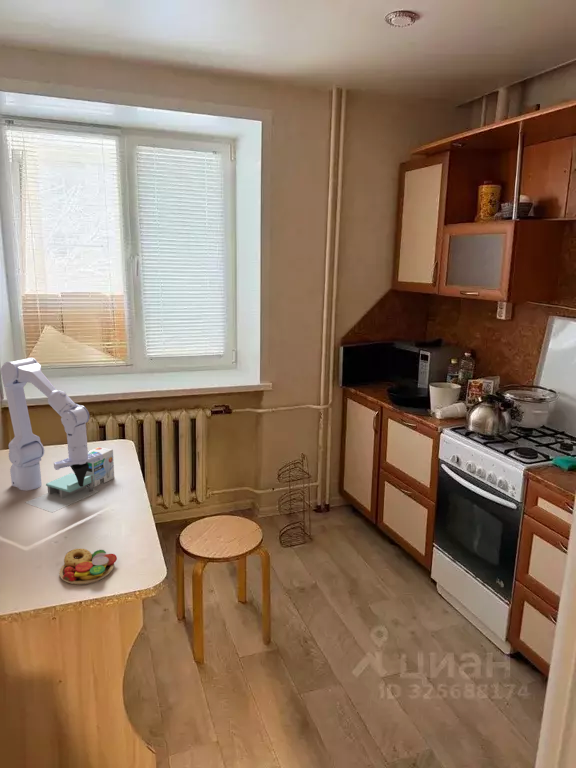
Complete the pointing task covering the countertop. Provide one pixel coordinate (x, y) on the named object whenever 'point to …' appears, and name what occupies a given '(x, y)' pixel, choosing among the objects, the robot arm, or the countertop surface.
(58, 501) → the board
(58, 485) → the cover
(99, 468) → the light bulb box
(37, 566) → the countertop surface
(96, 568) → the toy food set
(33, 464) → the robot arm
